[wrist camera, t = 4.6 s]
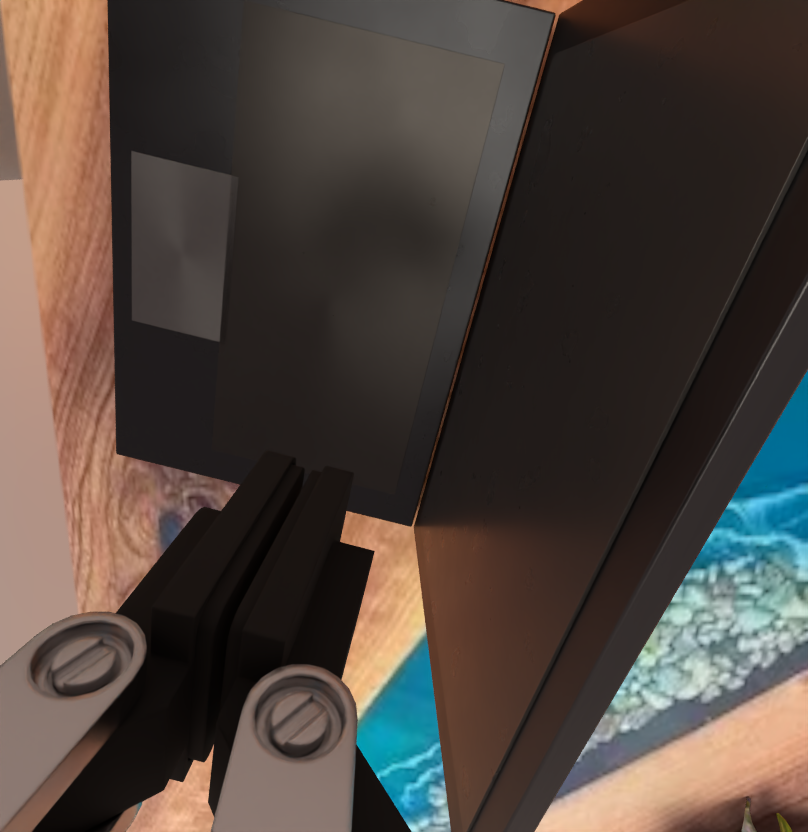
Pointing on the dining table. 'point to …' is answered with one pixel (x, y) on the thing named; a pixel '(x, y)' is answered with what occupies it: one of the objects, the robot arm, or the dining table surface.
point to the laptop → (306, 225)
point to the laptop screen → (611, 375)
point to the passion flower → (748, 827)
